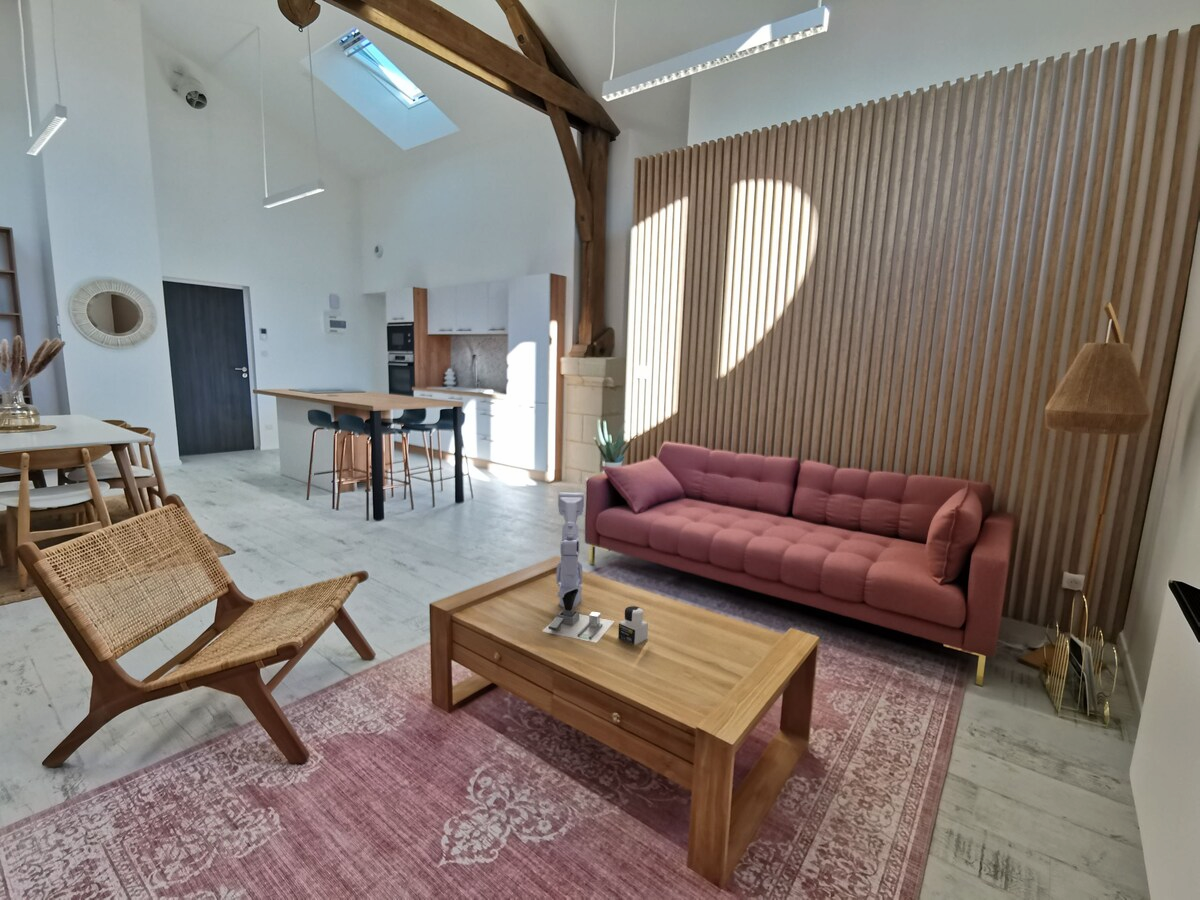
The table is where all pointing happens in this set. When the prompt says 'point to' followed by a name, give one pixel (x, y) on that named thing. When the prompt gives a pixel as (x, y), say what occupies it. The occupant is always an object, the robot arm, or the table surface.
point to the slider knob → (594, 619)
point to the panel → (580, 627)
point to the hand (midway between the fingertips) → (568, 609)
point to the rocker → (556, 623)
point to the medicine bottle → (633, 626)
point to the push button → (568, 612)
